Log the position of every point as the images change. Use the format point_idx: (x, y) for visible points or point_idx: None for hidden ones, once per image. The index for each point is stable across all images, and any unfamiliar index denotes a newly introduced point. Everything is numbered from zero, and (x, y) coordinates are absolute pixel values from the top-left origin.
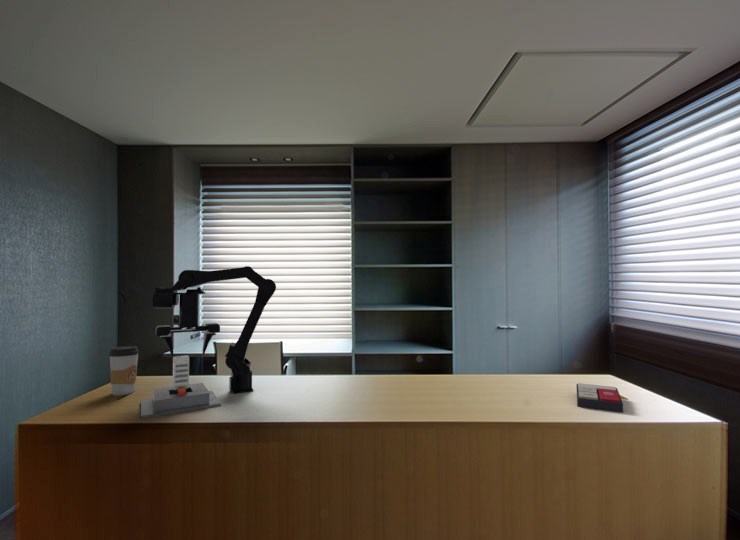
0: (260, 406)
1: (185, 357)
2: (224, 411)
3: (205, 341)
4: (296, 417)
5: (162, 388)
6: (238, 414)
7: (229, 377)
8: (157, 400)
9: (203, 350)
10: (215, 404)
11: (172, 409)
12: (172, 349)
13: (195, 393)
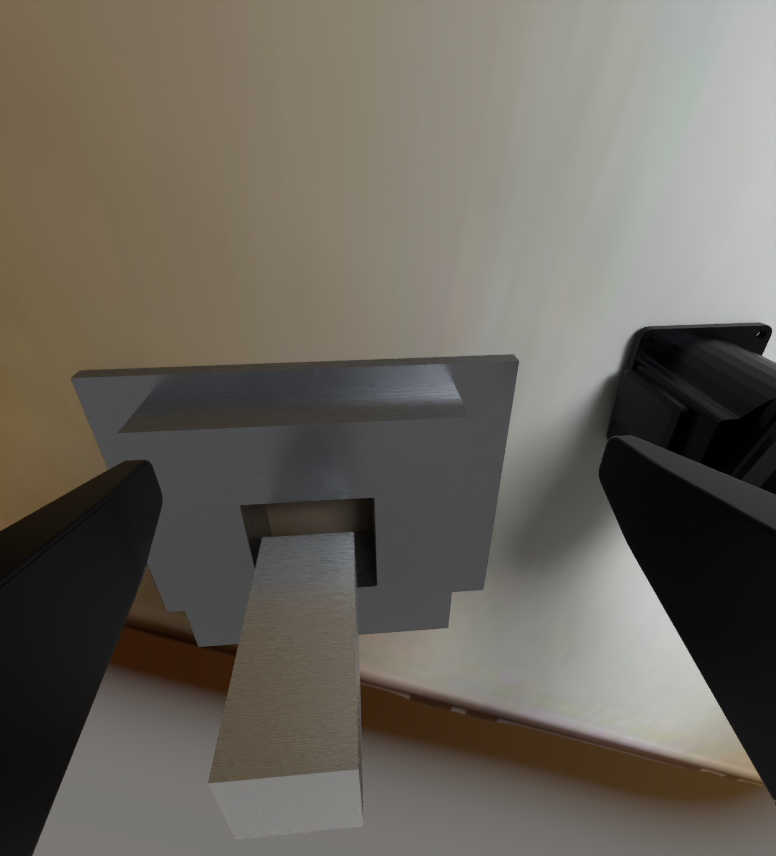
0: (598, 629)
1: (331, 824)
2: (472, 630)
3: (748, 752)
4: (619, 720)
5: (189, 449)
6: (501, 664)
7: (671, 413)
8: (213, 644)
9: (628, 542)
10: (460, 589)
11: None
12: (104, 654)
13: (386, 614)
